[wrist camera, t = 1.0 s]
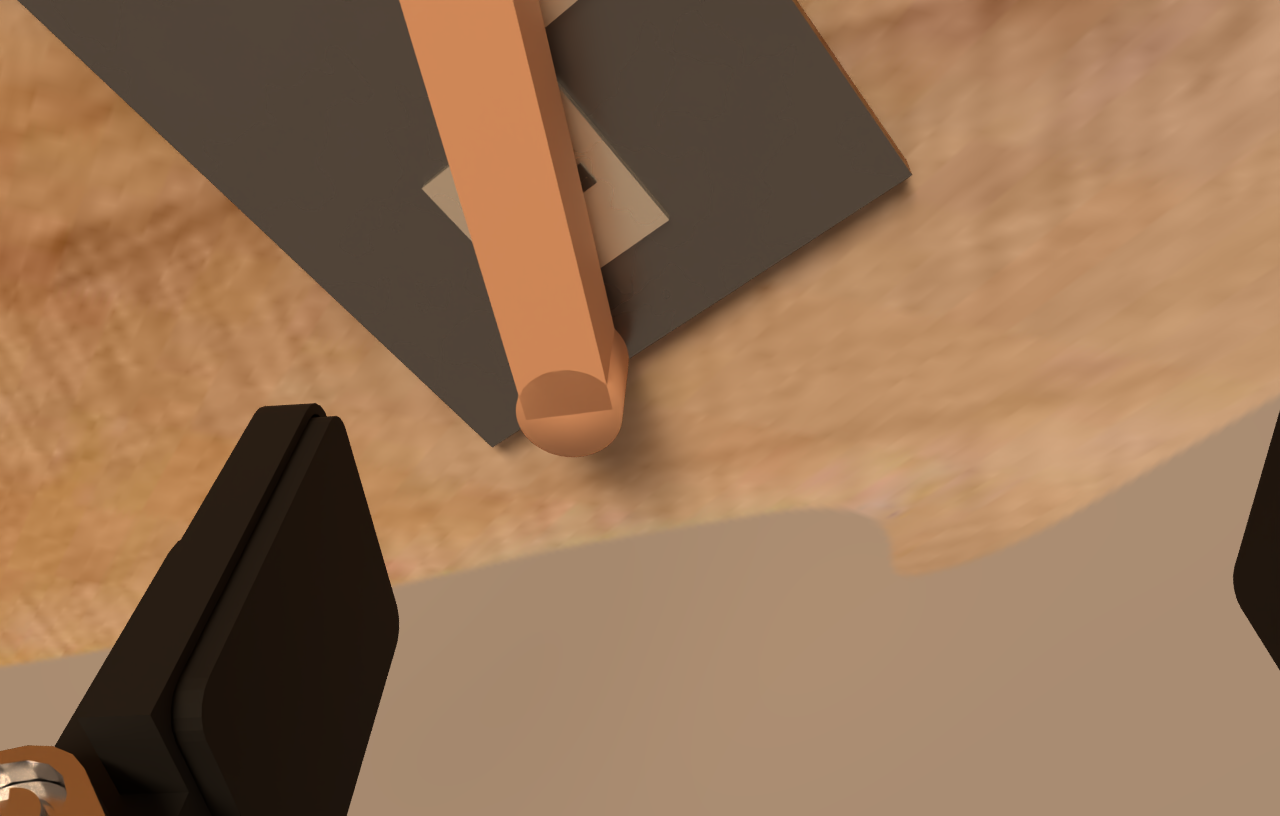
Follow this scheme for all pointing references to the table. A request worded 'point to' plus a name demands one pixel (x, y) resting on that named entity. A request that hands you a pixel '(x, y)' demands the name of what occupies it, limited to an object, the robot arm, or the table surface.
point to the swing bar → (525, 214)
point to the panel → (422, 180)
